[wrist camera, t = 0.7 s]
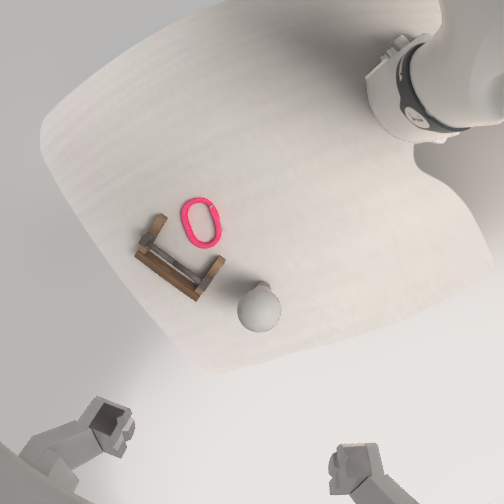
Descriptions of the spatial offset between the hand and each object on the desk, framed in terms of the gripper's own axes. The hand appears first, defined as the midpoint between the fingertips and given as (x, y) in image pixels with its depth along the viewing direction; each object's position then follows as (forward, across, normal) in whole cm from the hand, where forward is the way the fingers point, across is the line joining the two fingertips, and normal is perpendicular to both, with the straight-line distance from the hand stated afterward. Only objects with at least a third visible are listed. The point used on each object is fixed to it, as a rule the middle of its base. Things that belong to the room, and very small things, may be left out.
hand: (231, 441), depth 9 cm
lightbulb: (+36, 0, +11) cm, 38 cm away
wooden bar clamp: (+36, +14, +7) cm, 39 cm away
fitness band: (+37, +11, +1) cm, 39 cm away
